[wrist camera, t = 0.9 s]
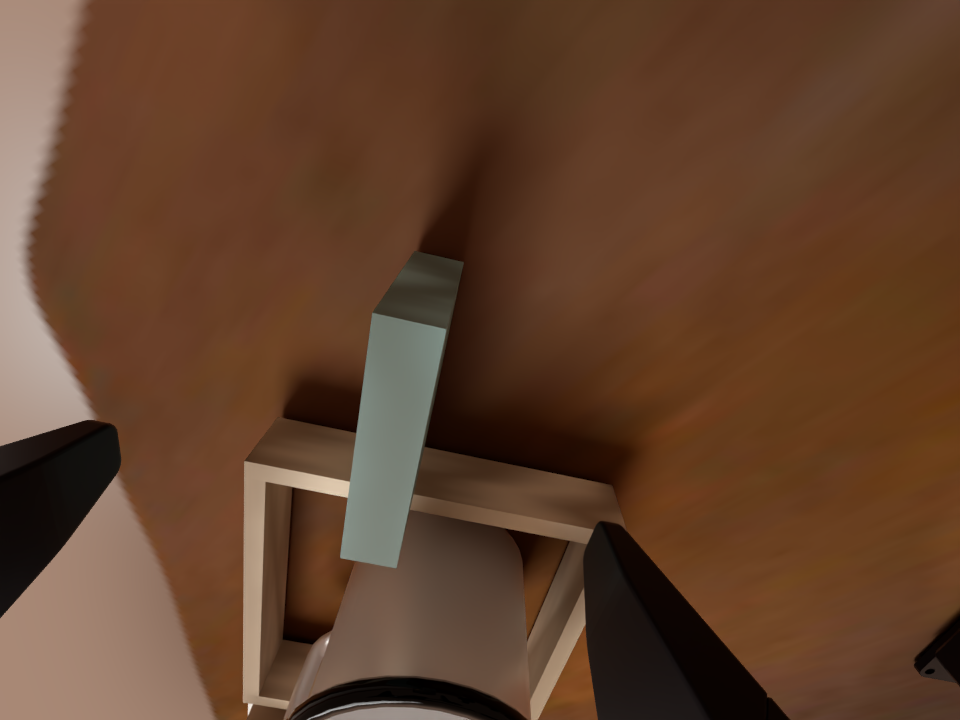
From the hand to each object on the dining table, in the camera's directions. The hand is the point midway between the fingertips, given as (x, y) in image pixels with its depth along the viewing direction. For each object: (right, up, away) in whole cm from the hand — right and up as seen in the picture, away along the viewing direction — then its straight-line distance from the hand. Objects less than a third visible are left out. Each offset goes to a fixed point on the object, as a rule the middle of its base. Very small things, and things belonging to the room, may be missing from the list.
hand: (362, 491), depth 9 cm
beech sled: (0, -5, +14) cm, 14 cm away
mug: (-1, -8, +16) cm, 18 cm away
